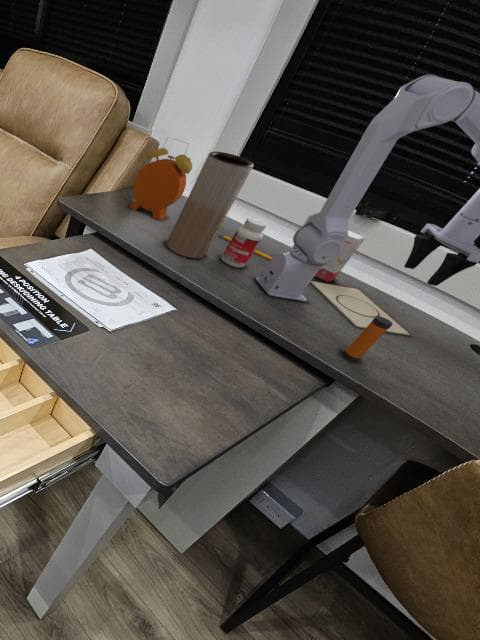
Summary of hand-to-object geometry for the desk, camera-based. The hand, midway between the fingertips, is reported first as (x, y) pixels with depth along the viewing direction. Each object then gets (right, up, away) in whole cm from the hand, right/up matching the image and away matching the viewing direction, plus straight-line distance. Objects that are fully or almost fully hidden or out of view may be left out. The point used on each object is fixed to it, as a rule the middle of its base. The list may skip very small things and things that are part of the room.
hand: (419, 275), depth 103 cm
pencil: (-24, +12, +23) cm, 35 cm away
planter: (-46, +11, +16) cm, 50 cm away
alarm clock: (-49, +27, +34) cm, 65 cm away
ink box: (-10, +5, +18) cm, 21 cm away
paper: (-9, -6, +6) cm, 13 cm away
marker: (-26, -19, -12) cm, 35 cm away
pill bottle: (-34, +7, +15) cm, 38 cm away
